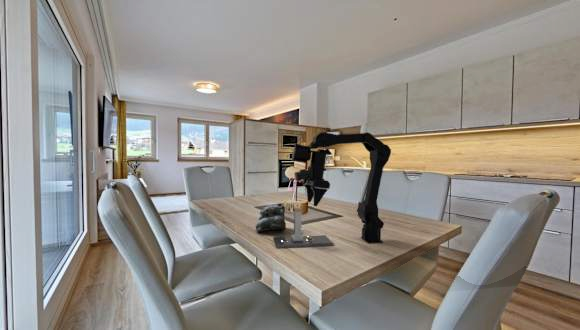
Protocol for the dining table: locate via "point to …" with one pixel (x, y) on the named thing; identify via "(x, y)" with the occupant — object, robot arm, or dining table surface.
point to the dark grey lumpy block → (272, 218)
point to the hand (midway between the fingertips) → (311, 204)
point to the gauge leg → (297, 225)
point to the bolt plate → (308, 241)
